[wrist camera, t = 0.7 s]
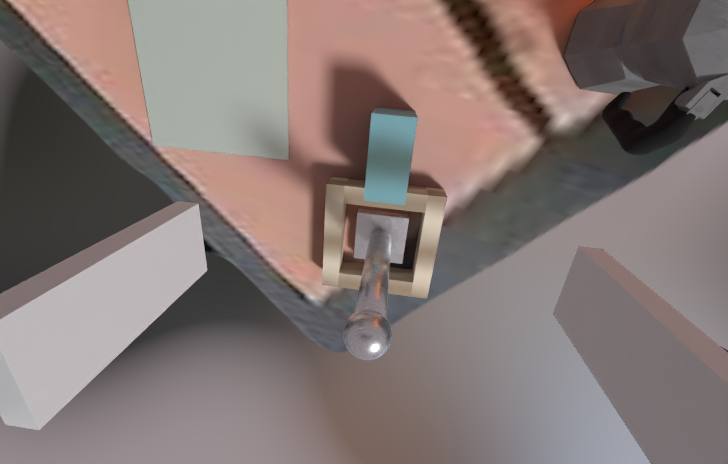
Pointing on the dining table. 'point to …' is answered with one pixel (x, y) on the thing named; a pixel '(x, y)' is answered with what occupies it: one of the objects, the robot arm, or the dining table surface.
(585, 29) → the coffeepot
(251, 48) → the mat
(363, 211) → the stand
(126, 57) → the dining table surface
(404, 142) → the sponge holder
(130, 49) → the dining table surface
